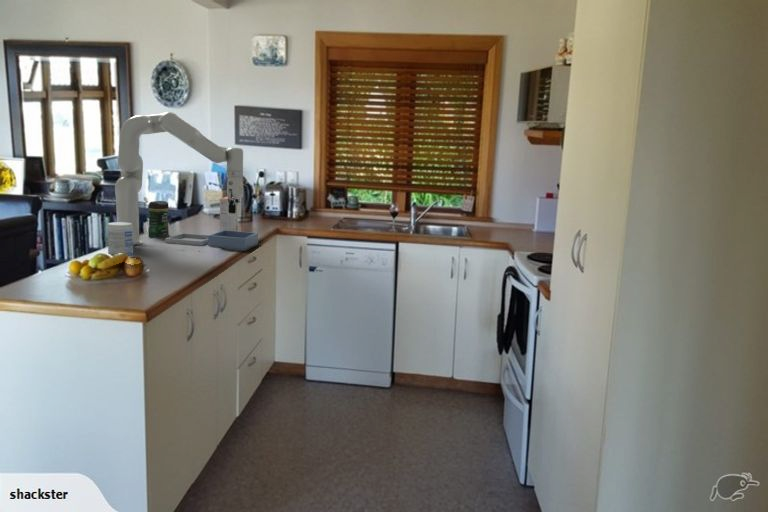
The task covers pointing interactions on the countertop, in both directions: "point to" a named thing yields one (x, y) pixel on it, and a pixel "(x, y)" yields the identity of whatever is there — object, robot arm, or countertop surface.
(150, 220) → the coffee jar
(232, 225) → the cracker box
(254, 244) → the bin
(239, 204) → the stone block
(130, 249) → the supplement tub
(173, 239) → the tray
